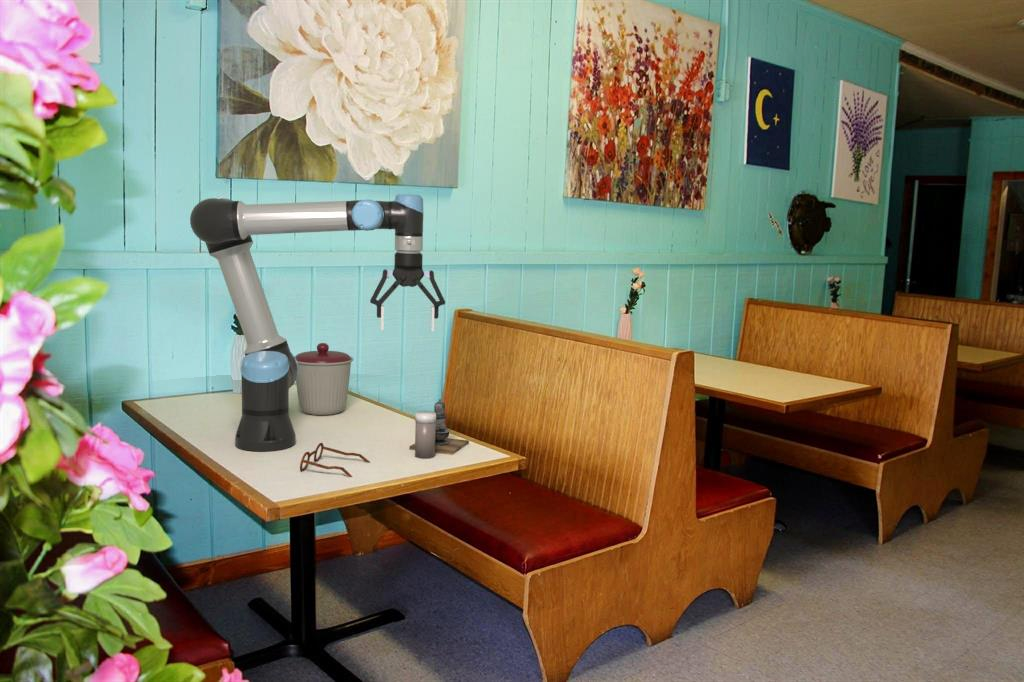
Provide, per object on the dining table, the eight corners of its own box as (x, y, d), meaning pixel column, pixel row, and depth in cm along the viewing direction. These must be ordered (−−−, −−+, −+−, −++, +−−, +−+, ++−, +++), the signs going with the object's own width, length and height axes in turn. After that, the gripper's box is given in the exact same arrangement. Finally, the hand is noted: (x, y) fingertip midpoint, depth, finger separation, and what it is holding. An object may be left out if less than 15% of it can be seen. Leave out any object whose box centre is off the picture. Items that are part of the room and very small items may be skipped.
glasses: (319, 460, 219) (319, 440, 218) (370, 464, 217) (370, 444, 216) (298, 475, 206) (298, 454, 206) (352, 479, 204) (352, 458, 203)
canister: (358, 406, 278) (358, 339, 275) (346, 419, 260) (346, 348, 257) (300, 404, 278) (300, 337, 275) (284, 417, 260) (284, 346, 257)
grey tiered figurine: (438, 439, 238) (439, 395, 236) (454, 443, 234) (455, 398, 232) (423, 443, 233) (424, 398, 231) (439, 447, 229) (440, 401, 228)
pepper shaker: (430, 459, 221) (431, 416, 219) (411, 457, 222) (412, 414, 221) (438, 454, 226) (439, 412, 224) (419, 452, 227) (420, 410, 226)
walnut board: (452, 454, 226) (452, 451, 226) (409, 449, 230) (409, 446, 229) (468, 443, 238) (468, 440, 237) (427, 438, 241) (427, 435, 241)
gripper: (361, 251, 234) (360, 331, 237) (455, 254, 238) (454, 332, 241) (362, 250, 242) (361, 327, 245) (453, 252, 245) (452, 328, 248)
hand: (407, 330), depth 243 cm, fingers open, 13 cm apart
